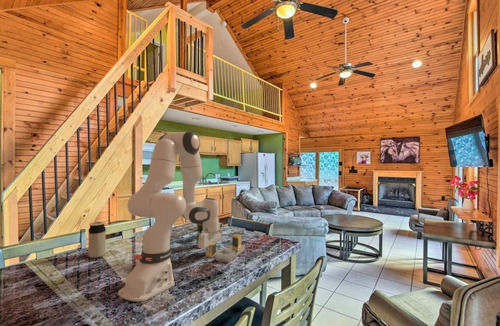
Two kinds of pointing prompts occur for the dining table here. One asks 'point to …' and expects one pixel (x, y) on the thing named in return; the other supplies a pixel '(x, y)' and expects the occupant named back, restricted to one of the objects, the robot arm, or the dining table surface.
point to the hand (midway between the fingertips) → (210, 251)
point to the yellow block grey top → (212, 250)
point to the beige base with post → (231, 250)
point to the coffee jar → (199, 231)
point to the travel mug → (97, 239)
